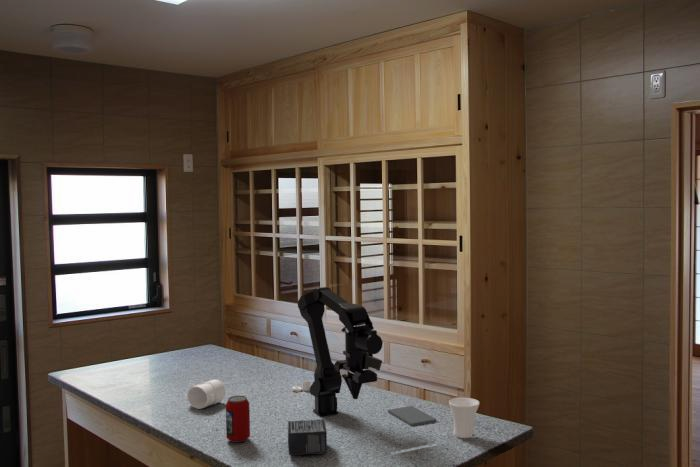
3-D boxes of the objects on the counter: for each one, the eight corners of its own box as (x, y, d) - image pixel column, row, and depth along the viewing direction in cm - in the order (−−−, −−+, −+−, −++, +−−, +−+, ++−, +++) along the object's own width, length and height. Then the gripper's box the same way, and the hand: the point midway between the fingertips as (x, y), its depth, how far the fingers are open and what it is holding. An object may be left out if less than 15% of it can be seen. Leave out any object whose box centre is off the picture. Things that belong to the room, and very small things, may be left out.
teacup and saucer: (289, 393, 233) (289, 382, 233) (299, 387, 241) (299, 376, 240) (311, 395, 230) (311, 384, 230) (320, 389, 237) (320, 379, 237)
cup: (460, 442, 181) (460, 407, 181) (443, 432, 190) (442, 398, 189) (486, 437, 185) (486, 403, 184) (468, 427, 193) (468, 394, 193)
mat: (411, 426, 195) (411, 423, 195) (387, 412, 209) (387, 409, 209) (436, 421, 199) (436, 419, 199) (411, 408, 213) (411, 405, 213)
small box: (324, 441, 184) (288, 442, 183) (324, 418, 184) (287, 419, 183) (326, 454, 174) (287, 456, 173) (326, 430, 174) (287, 432, 173)
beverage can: (227, 435, 190) (226, 395, 189) (250, 434, 190) (250, 394, 190) (225, 443, 183) (224, 402, 183) (249, 442, 184) (248, 401, 183)
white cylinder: (227, 404, 221) (226, 381, 221) (207, 411, 213) (207, 387, 213) (202, 399, 227) (201, 376, 227) (182, 406, 220) (181, 382, 219)
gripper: (392, 351, 190) (393, 403, 191) (365, 339, 207) (365, 387, 208) (358, 355, 185) (359, 409, 186) (333, 343, 202) (334, 392, 203)
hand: (355, 399), depth 196 cm, fingers closed
